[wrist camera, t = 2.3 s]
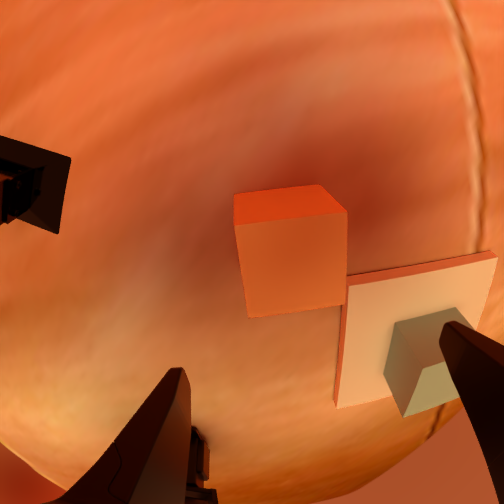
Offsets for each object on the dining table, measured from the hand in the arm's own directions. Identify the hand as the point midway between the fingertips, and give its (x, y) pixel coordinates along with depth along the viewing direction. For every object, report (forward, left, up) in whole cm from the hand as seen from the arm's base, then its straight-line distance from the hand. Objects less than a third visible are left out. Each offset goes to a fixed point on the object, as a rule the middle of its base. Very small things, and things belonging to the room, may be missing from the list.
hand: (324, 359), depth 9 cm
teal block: (+11, -11, -9) cm, 18 cm away
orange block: (0, 0, -11) cm, 11 cm away
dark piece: (-17, +7, -11) cm, 22 cm away
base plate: (+11, -11, -11) cm, 19 cm away
